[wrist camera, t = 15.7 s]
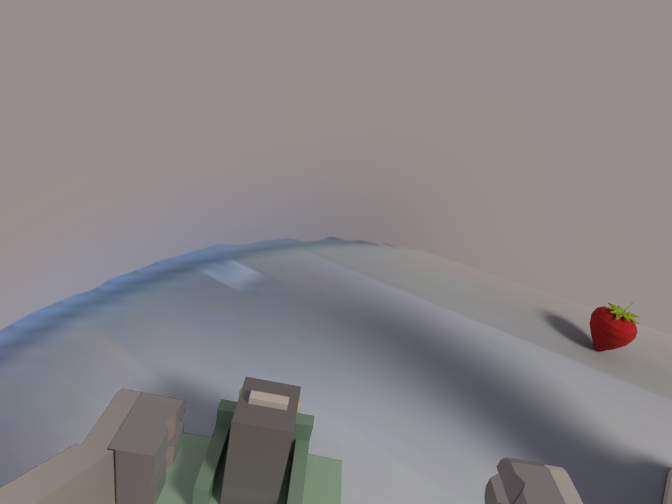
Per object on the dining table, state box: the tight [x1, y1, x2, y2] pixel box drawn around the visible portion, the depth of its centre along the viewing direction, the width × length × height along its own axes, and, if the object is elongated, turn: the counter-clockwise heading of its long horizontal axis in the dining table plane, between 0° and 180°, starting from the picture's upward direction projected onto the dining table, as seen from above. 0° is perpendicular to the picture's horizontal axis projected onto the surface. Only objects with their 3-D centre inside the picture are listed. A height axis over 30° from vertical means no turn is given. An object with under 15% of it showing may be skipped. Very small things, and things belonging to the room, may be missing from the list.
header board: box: [156, 389, 342, 504], centre depth 34 cm, size 12×16×8 cm
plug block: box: [220, 377, 301, 504], centre depth 35 cm, size 5×5×11 cm
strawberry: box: [590, 303, 639, 351], centre depth 70 cm, size 6×8×10 cm
